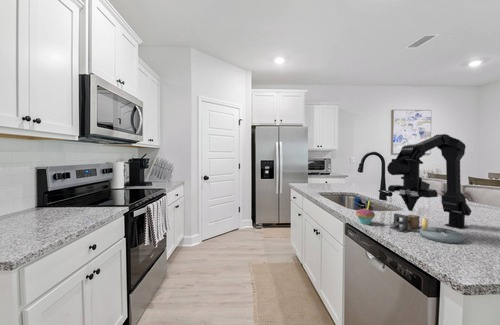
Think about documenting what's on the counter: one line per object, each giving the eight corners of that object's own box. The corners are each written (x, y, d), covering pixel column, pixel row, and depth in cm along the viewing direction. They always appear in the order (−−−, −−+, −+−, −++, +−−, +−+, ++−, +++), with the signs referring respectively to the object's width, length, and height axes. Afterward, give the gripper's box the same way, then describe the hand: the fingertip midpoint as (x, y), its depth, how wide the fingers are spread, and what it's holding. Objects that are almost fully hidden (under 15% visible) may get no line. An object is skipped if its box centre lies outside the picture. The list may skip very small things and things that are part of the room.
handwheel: (415, 230, 109) (416, 214, 108) (454, 233, 104) (455, 217, 104) (425, 240, 96) (426, 222, 95) (470, 244, 91) (471, 226, 90)
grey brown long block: (411, 225, 117) (411, 214, 117) (419, 226, 113) (419, 216, 113) (388, 229, 110) (388, 218, 110) (395, 231, 107) (395, 220, 106)
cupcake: (373, 221, 124) (373, 198, 123) (376, 226, 116) (376, 201, 115) (354, 220, 126) (355, 197, 126) (356, 224, 118) (356, 200, 118)
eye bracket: (396, 226, 115) (397, 212, 115) (412, 230, 109) (412, 216, 108) (389, 228, 113) (389, 213, 113) (404, 232, 106) (405, 217, 106)
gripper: (447, 175, 99) (446, 214, 100) (405, 172, 117) (405, 205, 117) (427, 176, 96) (426, 216, 96) (387, 173, 113) (386, 206, 114)
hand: (410, 210), depth 106 cm, fingers closed
